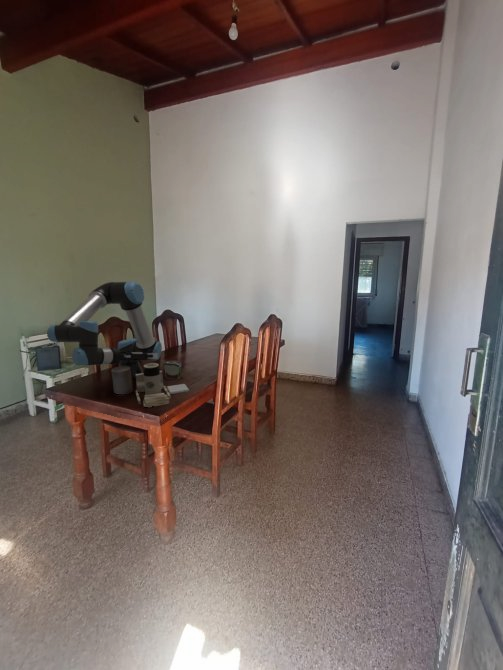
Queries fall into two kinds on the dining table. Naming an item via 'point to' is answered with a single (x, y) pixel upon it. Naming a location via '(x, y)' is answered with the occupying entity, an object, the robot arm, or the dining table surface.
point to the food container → (172, 369)
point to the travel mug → (152, 379)
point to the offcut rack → (153, 398)
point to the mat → (177, 388)
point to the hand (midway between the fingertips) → (149, 355)
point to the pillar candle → (122, 380)
